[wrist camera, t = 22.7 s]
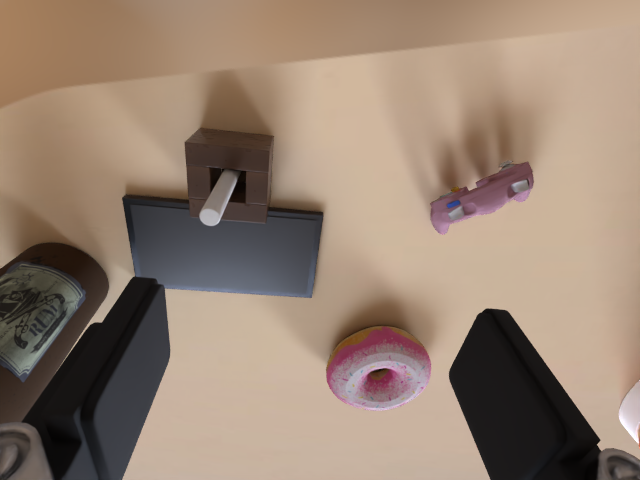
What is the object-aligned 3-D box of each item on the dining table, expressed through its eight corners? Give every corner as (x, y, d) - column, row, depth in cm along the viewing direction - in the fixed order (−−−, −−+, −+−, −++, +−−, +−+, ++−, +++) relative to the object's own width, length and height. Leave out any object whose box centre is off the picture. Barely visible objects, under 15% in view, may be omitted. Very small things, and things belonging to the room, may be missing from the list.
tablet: (125, 194, 36) (121, 198, 35) (322, 211, 38) (323, 216, 37) (139, 281, 41) (136, 287, 40) (311, 293, 43) (311, 298, 42)
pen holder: (199, 127, 33) (184, 142, 28) (273, 135, 33) (269, 151, 29) (203, 195, 36) (189, 217, 32) (270, 201, 37) (266, 224, 32)
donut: (444, 344, 49) (458, 374, 44) (381, 397, 54) (388, 429, 49) (368, 303, 44) (375, 332, 40) (308, 365, 49) (308, 397, 45)
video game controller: (507, 158, 37) (537, 148, 30) (524, 198, 37) (558, 197, 30) (418, 198, 39) (427, 197, 32) (434, 236, 39) (447, 243, 32)
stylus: (229, 154, 34) (198, 207, 24) (244, 156, 34) (219, 209, 24) (229, 168, 35) (199, 225, 24) (244, 170, 35) (220, 227, 25)
